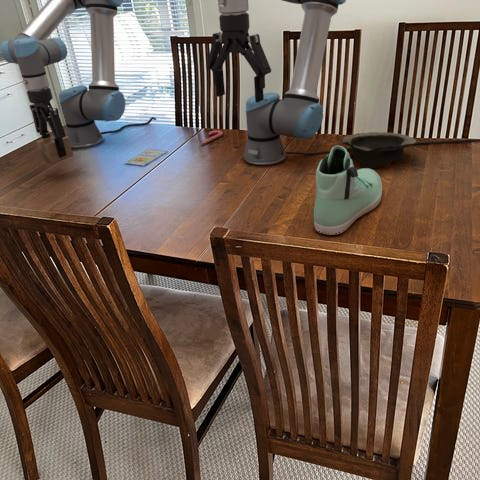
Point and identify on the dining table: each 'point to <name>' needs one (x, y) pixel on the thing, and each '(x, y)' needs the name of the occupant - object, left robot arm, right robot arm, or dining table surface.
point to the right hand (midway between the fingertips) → (239, 98)
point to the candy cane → (219, 133)
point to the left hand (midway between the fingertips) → (56, 154)
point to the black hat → (378, 147)
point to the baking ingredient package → (145, 157)
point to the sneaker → (343, 192)
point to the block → (53, 150)
